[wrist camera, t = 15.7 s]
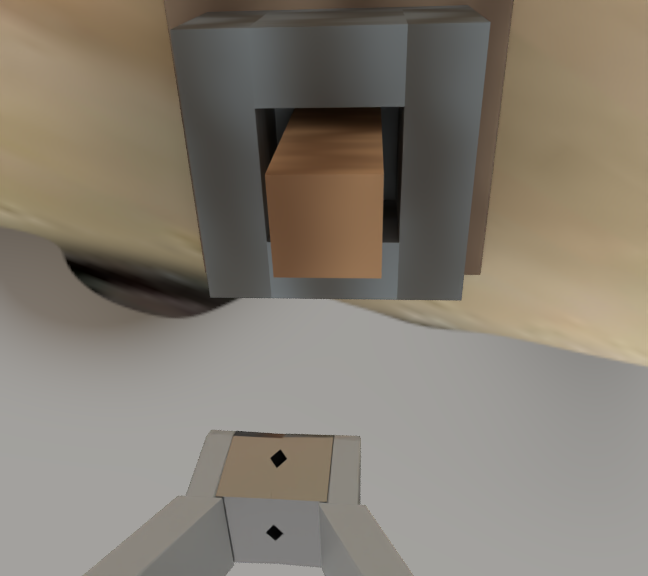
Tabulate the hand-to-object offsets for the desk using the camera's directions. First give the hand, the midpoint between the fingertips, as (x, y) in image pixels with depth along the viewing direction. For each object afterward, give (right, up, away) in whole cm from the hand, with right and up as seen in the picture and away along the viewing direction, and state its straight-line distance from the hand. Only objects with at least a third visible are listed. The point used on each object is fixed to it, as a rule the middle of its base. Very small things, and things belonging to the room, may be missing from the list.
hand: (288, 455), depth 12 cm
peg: (+1, +11, +18) cm, 21 cm away
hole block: (+2, +12, +19) cm, 23 cm away
